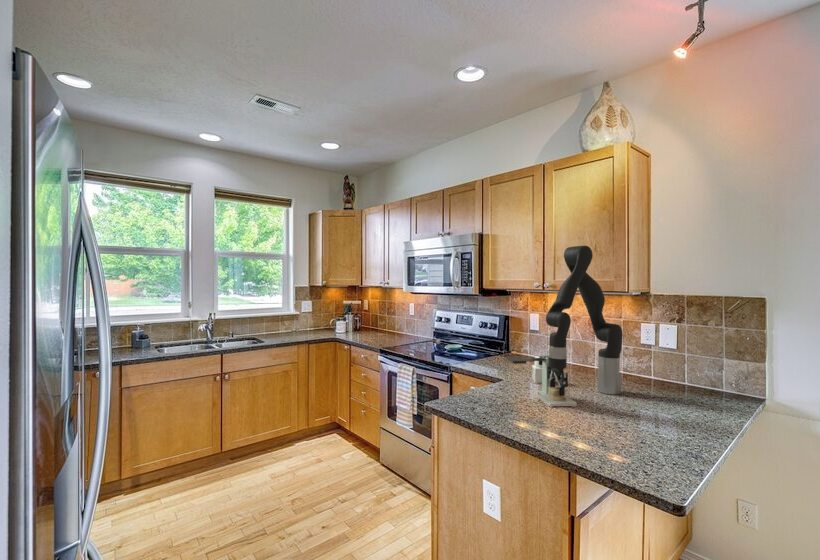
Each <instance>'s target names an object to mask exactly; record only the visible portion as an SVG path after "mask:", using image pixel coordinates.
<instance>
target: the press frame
mask: <svg viewBox="0 0 820 560" xmlns="http://www.w3.org/2000/svg"><path fill="white" fill-rule="evenodd" d="M542 356H543V358H544V357H545V356H546V355H542ZM547 356H548V357H549V355H547ZM548 366H549V358H547V361H543V362H542V383H541V387H542V388H541V389H540V390H539V394H538V395H537V399H539V398H540V399H541V400H542V402H543V401H544V402H545V403H547V404H548V405H549V406H572V407H578V403H577V402H576V401H575V400H573V399H572V398H570V397H569V396H567V395H566V401H553V400H551V399H550V398H549V397H548V387H550V381H549V379H548V378H547V375H548ZM540 399H539V400H540ZM541 400H540V401H541ZM544 402H543V403H544ZM545 403H544V404H545ZM547 404H546V405H547ZM548 405H547V406H548ZM549 406H548V407H549Z"/></svg>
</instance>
